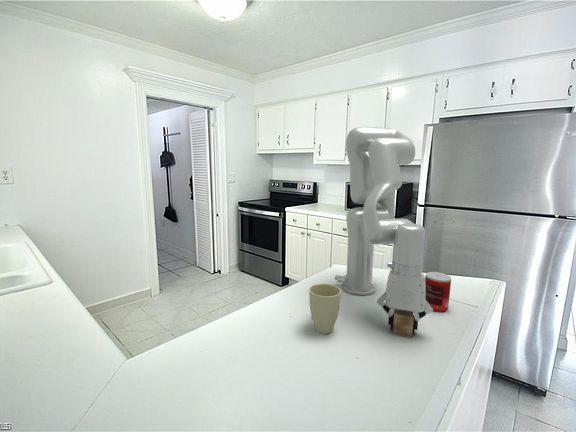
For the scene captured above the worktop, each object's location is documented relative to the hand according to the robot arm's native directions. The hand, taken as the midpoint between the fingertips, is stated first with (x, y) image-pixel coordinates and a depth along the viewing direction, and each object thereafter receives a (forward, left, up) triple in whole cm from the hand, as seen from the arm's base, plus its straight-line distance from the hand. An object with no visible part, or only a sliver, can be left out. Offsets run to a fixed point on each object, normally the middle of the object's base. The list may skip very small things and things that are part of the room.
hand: (402, 328), depth 83 cm
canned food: (+11, +20, -1) cm, 23 cm away
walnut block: (0, 0, -1) cm, 1 cm away
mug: (-22, -6, -1) cm, 23 cm away
